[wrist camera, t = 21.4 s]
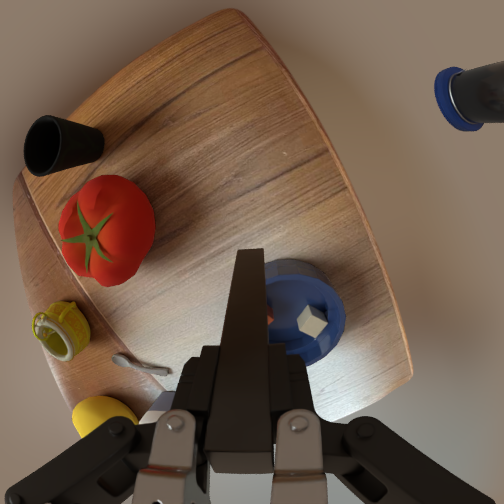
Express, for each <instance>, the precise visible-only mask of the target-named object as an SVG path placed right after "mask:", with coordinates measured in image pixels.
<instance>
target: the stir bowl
mask: <svg viewBox="0 0 504 504" xmlns="http://www.w3.org/2000/svg"><path fill="white" fill-rule="evenodd" d="M265 280H266V297H267V305H268V306H270V307H271V308H272V309H273V316H274V320H273V321H272V322H271V323H270V324H269V325H268V333H269V344H277V343H285V346H286V354H287V355H291V354H299V355H300V356H301V358H302V359H303V360H304V361H305V364H306V367H307V366H310V365H312V364H314V363H315V362H317V361H319V360H320V359H322V358H324V357H325V356H326V355H327V354H328V353H329V352H330V351H331V350H332V349H333V348H334V347H335V346H336V345H337V343H338V342H339V340H340V338H341V336H342V334H343V332H344V327H345V320H346V314H345V310H344V306H343V302H342V300H341V298H340V296H339V294H338V293H337V291H336V289H335V288H334V286H333V284H332V283H331V281H330V280H329V279H328V277H327V276H326V275H325V273H324V272H322V271H321V270H319V269H318V268H316V267H315V266H313V265H312V264H309V263H306V262H302V261H298V260H294V259H291V260H275V261H272V262H269V263H266V264H265ZM307 305H310V306H312V307H314V308H316V309H318V310H320V311H322V312H323V313H324V315H325V317H326V320H327V322H328V324H327V325H326V326H325V327H324V329H323V330H322V331H321V332H320V333H319V335H318V336H317V337H316V338H314V337H312V336H310V335H308V334H306V333H304V332H302V331H300V330H299V327H298V323H297V318H298V317H299V316H300V314H301V313H302V312H303V310H304V309H305V308H306V307H307Z"/></svg>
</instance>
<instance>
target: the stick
mask: <svg viewBox="0 0 504 504" xmlns="http://www.w3.org/2000/svg"><path fill="white" fill-rule="evenodd" d="M268 344H269V333H268V315H267V297H266V280H265V263H264V249H263V248H258V249H242V250H237V255H236V261H235V266H234V271H233V277H232V282H231V287H230V293H229V298H228V304H227V309H226V315H225V320H224V326H223V331H222V337H221V343H220V352H219V358H218V364H217V370H216V376H215V382H214V388H213V394H212V400H211V406H210V412H209V416H208V419H207V425H206V432H205V438H204V444H203V451H204V453H205V455H206V457H207V459H208V461H209V463H210V465H211V466H212V468H213V470H214V472H215V473H231V474H233V473H234V474H266V473H274V446H273V445H274V444H273V419H272V416H271V415H270V388H269V362H268Z"/></svg>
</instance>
